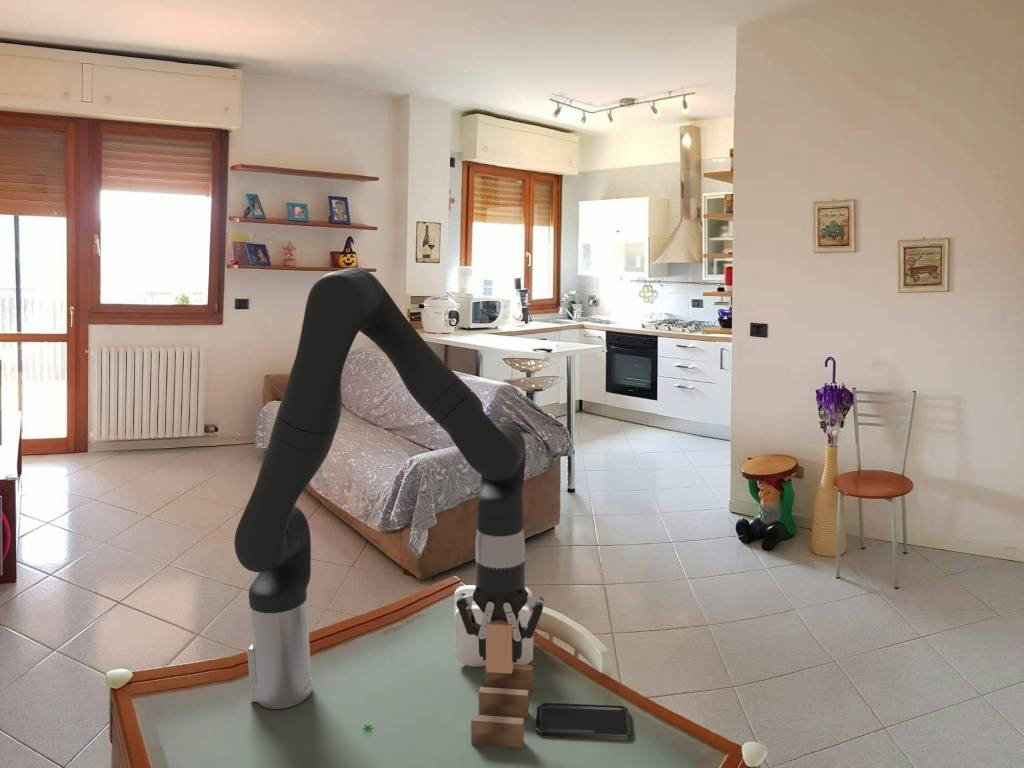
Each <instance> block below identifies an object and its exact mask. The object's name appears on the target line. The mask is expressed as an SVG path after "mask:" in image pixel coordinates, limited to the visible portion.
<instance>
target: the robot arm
mask: <svg viewBox="0 0 1024 768" xmlns="http://www.w3.org/2000/svg"><path fill="white" fill-rule="evenodd" d="M310 288H311V289H310V290H309V293H308V296H307V299H306V303H305V308H304V309H305V310H304V314H303V319H302V324H301V325H302V326H301V330H300V331H301V332H300V337H299V340H298V341H299V342H298V346H297V350H296V355H295V357H294V358H295V359H294V361H293V364H292V368H291V370H290V373H289V376H288V379H287V383H286V386H285V389H284V391H283V392H284V393H283V395H282V397H281V401H280V404H279V407H278V409H277V414H276V416H275V419H274V422H273V425H272V429H271V433H270V437H269V441H268V446H267V448H266V451H265V454H264V457H263V459H262V460H263V461H262V463H261V466H260V468H259V469H260V470H259V473H258V476H257V479H256V482H255V485H254V487H253V490H252V492H251V495H250V498H249V500H248V502H247V504H246V506H245V508H244V511H243V513H242V516H241V517H240V520H239V522H238V524H237V527H236V530H235V534H234V541H233V542H234V551H235V555H236V557H237V560H238V561H239V563H240V565H241V566H242V567H243V568H245V569H246V570H247V571H249V572H253V573H258V574H257V576H256V577H255V579H254V580H253V581H252V582H251V585H250V587H249V589H248V604H249V615H250V616H249V618H250V629H251V630H250V631H251V632H250V633H251V645H250V646H249V647H248V648H247V666H248V667H247V668H248V677H249V678H248V680H249V693H250V702H251V703H252V702H253V703H257V704H258V705H260V706H262V707H264V708H267V709H272V710H279V709H280V710H281V709H282V710H283V709H287V708H290V707H294V706H297V705H299V704H301V703H302V702H304V701H305V700H306V699H308V698H309V696H310V695H311V693H312V688H313V687H312V686H313V685H312V680H313V679H312V670H311V667H312V665H311V649H310V647H311V646H310V632H309V631H310V629H309V614H308V613H309V612H308V611H309V610H308V594H307V590H308V586H309V583H310V579H311V574H312V571H311V570H312V567H311V566H312V561H311V560H312V555H311V554H312V544H311V542H312V541H311V531H310V526H309V522H308V520H307V517H306V515H305V514H304V512H303V511H302V509H300V508H299V507H298V506H296V503H297V502H298V501H299V500H298V499H299V498H300V496H301V495H302V494H303V492H304V491H305V489H306V488H307V487H308V485H309V484H310V482H311V481H312V480H313V478H314V476H315V475H316V474H317V473H318V471H319V469H320V468H321V466H322V465H323V463H324V462H325V460H326V458H327V457H328V454H329V452H330V449H331V447H332V445H333V441H334V439H335V436H336V433H337V429H338V426H339V423H340V420H341V414H342V385H341V384H342V374H343V370H344V368H345V367H344V366H345V363H346V360H347V359H348V358H347V357H348V356H349V353H350V351H351V350H350V349H351V348H352V345H353V343H354V341H355V339H356V337H357V335H358V333H359V332H360V333H361V334H363V335H364V336H365V337H367V338H368V339H369V340H370V341H372V342H373V343H374V344H376V346H377V347H379V348H380V350H381V351H383V353H384V354H385V356H386V357H387V359H388V360H389V361H390V363H392V365H393V367H394V368H395V370H396V371H397V373H398V375H399V377H400V379H401V380H402V382H403V384H404V386H405V388H406V389H407V391H408V393H409V394H410V395H411V396H412V398H413V399H414V400H415V402H416V403H417V404H418V405H419V406H420V407H421V408H422V409H423V410H424V411H425V412H426V414H427V415H429V416H430V418H432V420H434V421H435V423H436V424H438V425H439V426H440V427H441V428H442V429H443V430H444V431H446V433H447V434H448V436H449V437H450V438H451V440H452V442H453V443H454V445H455V447H456V448H457V449H458V451H459V452H460V453H461V455H462V457H464V459H465V461H466V462H467V463H468V464H469V465H470V466H471V468H472V469H473V470H474V471H476V473H478V474H479V475H480V477H481V484H480V490H479V492H478V495H477V500H476V533H475V534H476V535H475V547H474V548H475V549H474V550H475V585H476V588H475V590H474V593H471V594H468V595H466V594H465V593H461V594H460V595H459V598H458V600H457V603H456V604H457V607H458V610H459V612H460V615H461V618H462V620H463V623H464V626H465V629H466V631H467V633H468V634H469V635H473V634H474V635H476V636H477V637H478V638H479V655H480V657H483V660H486V623H489V624H490V620H497V619H501V620H505V621H508V624H509V625H512V635H513V641H512V662H517V659H520V658H521V654H522V639H524V638H532V636H533V637H534V635H535V631H536V628H537V626H538V623H539V620H540V618H541V615H542V612H543V610H544V609H543V608H544V604H545V600H544V598H543V597H541V596H539V597H537V598H536V597H533V596H532V597H530V596H528V593H527V591H526V589H525V587H526V583H525V582H526V574H525V573H526V559H525V557H526V547H525V546H526V543H525V542H526V541H525V534H524V533H525V532H524V502H523V501H524V500H523V488H524V483H525V481H524V480H525V471H526V459H527V458H526V455H527V454H526V453H527V450H526V442H525V439H524V436H523V434H522V432H521V431H519V430H518V429H517V427H515V426H513V425H511V424H507V423H498V424H495V423H494V422H493V420H491V418H490V417H489V416H488V415H487V413H485V411H484V405H483V402H482V400H481V399H480V398H479V397H478V395H477V394H476V393H475V392H474V391H473V390H472V389H471V388H470V387H469V386H468V384H466V383H465V382H464V381H463V380H462V379H461V378H460V377H459V376H458V375H457V373H455V372H454V371H453V370H452V369H451V368H450V367H449V366H448V365H447V364H446V363H445V362H444V361H443V360H442V359H441V358H440V357H439V356H438V354H436V352H435V351H434V350H433V349H432V348H431V347H430V345H428V344H427V342H426V341H425V340H424V339H423V337H422V336H421V335H420V333H419V332H418V331H417V330H416V329H415V327H414V326H413V325H412V324H411V321H409V320H408V319H407V318H406V316H405V315H404V314H403V312H402V311H401V309H400V307H399V306H398V305H397V304H396V302H395V301H394V299H393V298H392V297H391V295H390V294H389V292H388V291H387V290H386V288H385V287H384V286H383V285H382V282H380V281H379V280H378V278H377V277H376V276H375V275H374V274H372V273H371V272H370V271H368V270H366V269H362V268H357V267H349V268H344V269H340V270H336V271H331V272H329V273H326V274H324V275H323V276H321V277H319V278H318V279H317V281H315V282H314V284H313V285H312V287H310ZM473 601H475V603H476V604H477V605H478V607H479V608H480V609H481V611H482V612H483V613H484V616H483V619H482V623H481V625H480V624H478V623H477V622H476V620H475V617H474V614H473V612H472V609H471V608H472V605H473ZM525 604H527V605H528V606H529V609H528V610H529V612H530V613H531V616H530V618H529V621H528V624H527V626H524V627H522V625H521V622H520V615H519V611H520V610H521V609H522V608H523V607H524V605H525Z"/></svg>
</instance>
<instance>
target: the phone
mask: <svg viewBox="0 0 1024 768" xmlns="http://www.w3.org/2000/svg"><path fill="white" fill-rule="evenodd" d="M535 718H536V719H535V733H536V735H537V736H540V737H550V738H551V737H552V738H570V739H572V738H573V739H593V740H610V741H611V740H614V741H628V739H629V740H630V739H631V738H632V728H631V720H630V712H629V708H628V707H626V706H623V705H611V704H610V705H607V704H606V705H605V704H586V703H584V704H583V703H582V704H581V703H560V702H540V703H538V704H537V706H536V717H535Z"/></svg>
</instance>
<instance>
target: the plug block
mask: <svg viewBox="0 0 1024 768" xmlns="http://www.w3.org/2000/svg"><path fill="white" fill-rule="evenodd" d="M512 641H513V635H512V625H509V624H508V621H505V620H501V619H497V620H490V624H489V623H486V666H485V673H486V672H493V673H509V674H512V670H513V666H514V662H512Z"/></svg>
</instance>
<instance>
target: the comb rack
mask: <svg viewBox="0 0 1024 768" xmlns="http://www.w3.org/2000/svg"><path fill="white" fill-rule="evenodd" d="M533 676H534V675H533V665H532V664H526V665H521V664H514V666H513V670H512V674H509V673H493V672H486V671H485V686H479V690H478V714H472V716H471V719H470V727H471V728H470V732H471V733H470V735H471V737H470V739H471V740H470V743H471V745H484V746H496V747H508V748H509V747H511V748H523V747H524V741H525V736H524V735H525V718H526V719H528V716H529V692H532V691H533Z"/></svg>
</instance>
